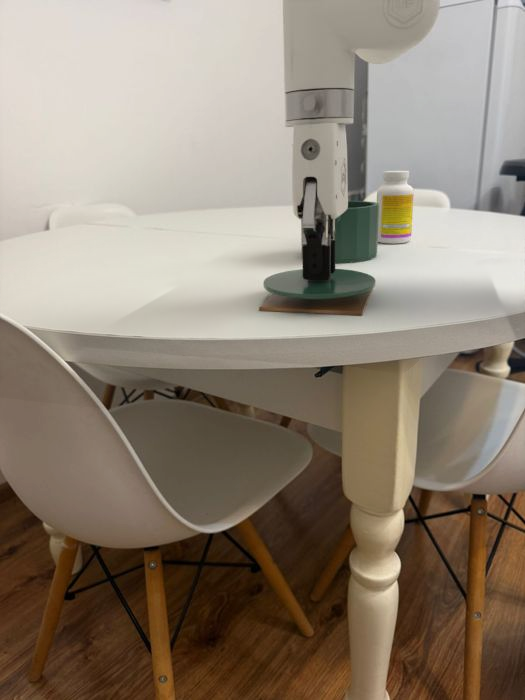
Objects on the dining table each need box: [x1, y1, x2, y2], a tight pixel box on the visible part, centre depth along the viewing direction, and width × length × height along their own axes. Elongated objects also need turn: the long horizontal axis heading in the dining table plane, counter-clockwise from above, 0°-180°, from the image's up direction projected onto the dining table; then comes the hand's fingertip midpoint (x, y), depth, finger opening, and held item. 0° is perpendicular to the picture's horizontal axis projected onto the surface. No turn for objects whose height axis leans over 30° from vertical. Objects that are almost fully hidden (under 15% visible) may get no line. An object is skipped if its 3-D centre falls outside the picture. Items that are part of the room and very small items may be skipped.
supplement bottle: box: [376, 170, 414, 245], centre depth 101 cm, size 7×7×13 cm
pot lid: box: [263, 234, 377, 299], centre depth 65 cm, size 14×14×7 cm
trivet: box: [258, 288, 374, 316], centre depth 66 cm, size 12×12×1 cm
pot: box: [300, 200, 379, 264], centre depth 91 cm, size 13×18×8 cm
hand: (319, 274), depth 65 cm, fingers closed on pot lid, 2 cm apart
